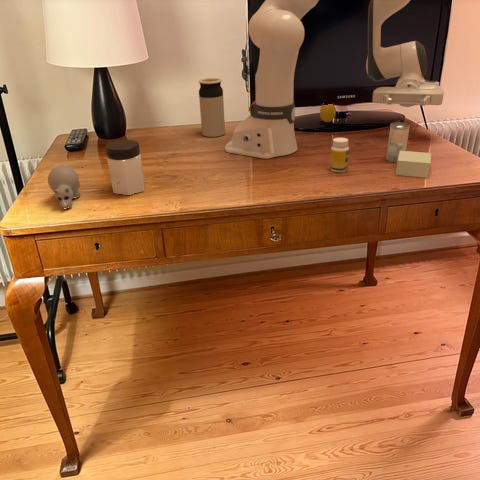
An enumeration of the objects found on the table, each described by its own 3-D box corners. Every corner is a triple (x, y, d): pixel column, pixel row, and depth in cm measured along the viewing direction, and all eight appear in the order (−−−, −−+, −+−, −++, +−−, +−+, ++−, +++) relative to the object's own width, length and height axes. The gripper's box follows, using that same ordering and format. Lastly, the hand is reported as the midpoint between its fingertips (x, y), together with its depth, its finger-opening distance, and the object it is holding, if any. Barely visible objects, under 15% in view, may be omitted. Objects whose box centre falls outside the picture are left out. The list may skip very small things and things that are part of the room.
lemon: (317, 121, 168) (318, 99, 164) (332, 120, 168) (334, 98, 164) (321, 125, 163) (322, 103, 159) (337, 124, 163) (338, 102, 159)
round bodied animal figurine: (53, 220, 111) (41, 196, 105) (54, 185, 119) (44, 161, 112) (83, 216, 112) (74, 192, 106) (83, 182, 120) (75, 157, 113)
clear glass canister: (385, 161, 130) (389, 126, 125) (386, 155, 134) (391, 121, 129) (404, 163, 128) (409, 127, 123) (405, 157, 133) (410, 122, 128)
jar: (105, 193, 118) (96, 148, 112) (123, 181, 124) (116, 138, 118) (135, 197, 115) (128, 151, 109) (152, 185, 121) (146, 141, 115)
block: (395, 174, 121) (397, 160, 119) (397, 164, 128) (399, 150, 126) (427, 177, 119) (430, 163, 117) (428, 167, 125) (431, 153, 123)
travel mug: (228, 135, 157) (225, 80, 148) (206, 138, 155) (201, 83, 146) (220, 129, 164) (217, 76, 155) (199, 132, 161) (195, 79, 152)
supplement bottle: (347, 173, 124) (349, 142, 120) (329, 172, 125) (331, 142, 120) (347, 166, 128) (349, 137, 124) (330, 166, 129) (331, 136, 125)
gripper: (375, 80, 148) (370, 90, 136) (444, 81, 141) (444, 92, 130) (373, 100, 151) (368, 111, 140) (441, 102, 144) (441, 114, 133)
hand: (405, 102), depth 135 cm, fingers open, 8 cm apart
